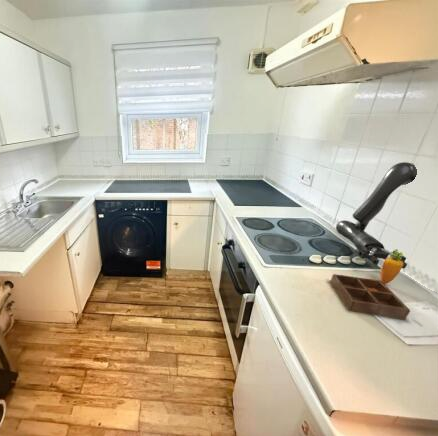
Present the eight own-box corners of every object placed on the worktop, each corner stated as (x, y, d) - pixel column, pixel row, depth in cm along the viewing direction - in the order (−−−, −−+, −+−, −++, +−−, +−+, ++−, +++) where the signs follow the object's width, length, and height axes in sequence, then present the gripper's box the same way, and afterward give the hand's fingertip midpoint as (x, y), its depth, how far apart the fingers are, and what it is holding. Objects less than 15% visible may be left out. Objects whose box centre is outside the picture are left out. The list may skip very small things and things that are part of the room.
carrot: (392, 290, 89) (409, 256, 83) (374, 284, 92) (390, 251, 86) (392, 284, 92) (408, 250, 87) (375, 278, 96) (389, 246, 90)
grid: (376, 289, 90) (381, 280, 88) (405, 320, 76) (410, 310, 74) (329, 282, 93) (333, 273, 92) (348, 310, 80) (352, 301, 78)
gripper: (351, 235, 105) (372, 253, 90) (390, 239, 101) (418, 259, 87) (345, 249, 107) (365, 270, 93) (383, 254, 104) (410, 275, 89)
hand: (390, 264), depth 90 cm, fingers open, 8 cm apart
